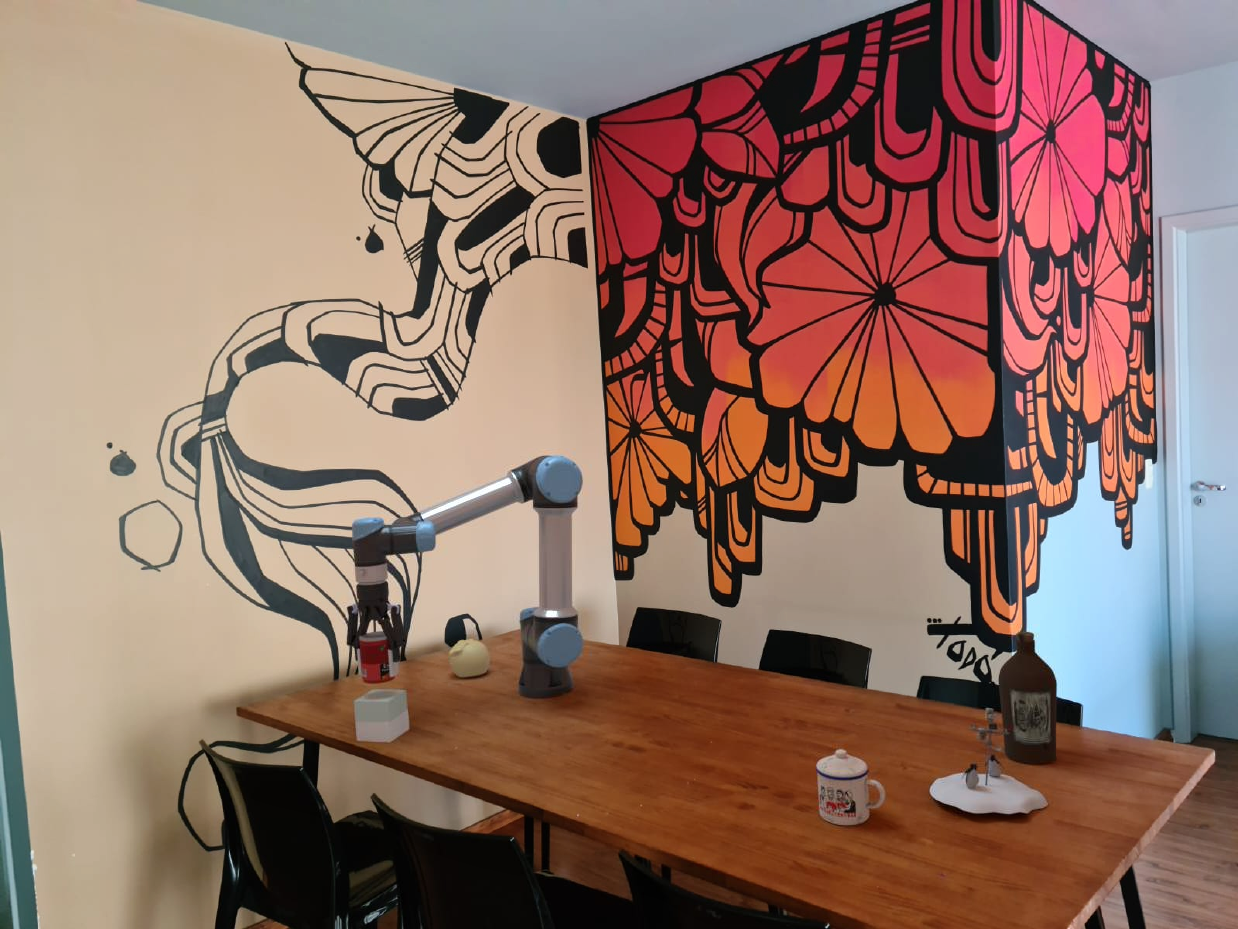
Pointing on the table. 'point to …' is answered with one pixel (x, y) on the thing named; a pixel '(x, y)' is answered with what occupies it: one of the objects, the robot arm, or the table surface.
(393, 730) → the tower base
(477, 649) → the sculpture
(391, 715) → the tower top
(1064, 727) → the table surface
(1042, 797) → the figurine
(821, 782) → the teacup with lid
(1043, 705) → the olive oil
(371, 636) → the canned food
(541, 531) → the robot arm
